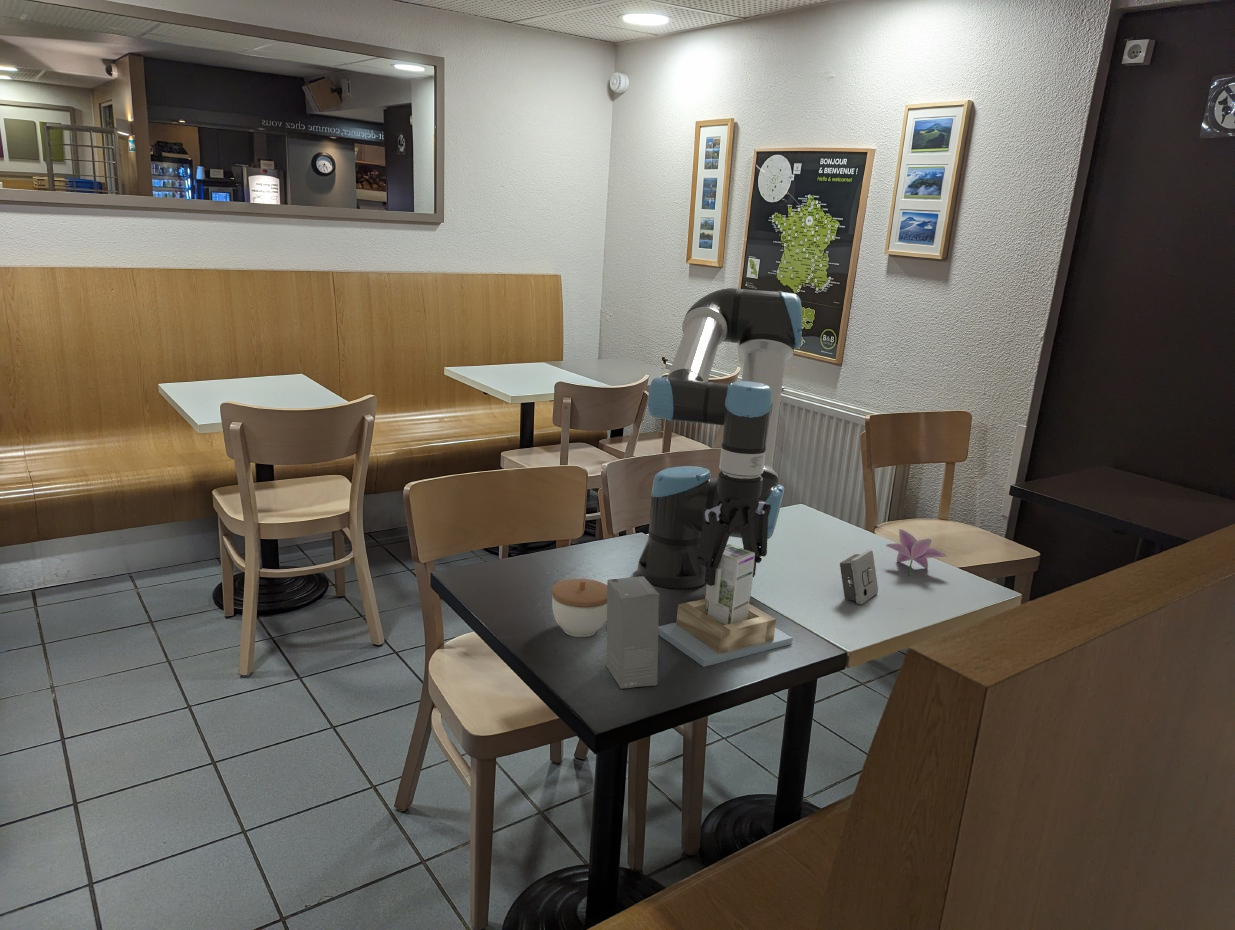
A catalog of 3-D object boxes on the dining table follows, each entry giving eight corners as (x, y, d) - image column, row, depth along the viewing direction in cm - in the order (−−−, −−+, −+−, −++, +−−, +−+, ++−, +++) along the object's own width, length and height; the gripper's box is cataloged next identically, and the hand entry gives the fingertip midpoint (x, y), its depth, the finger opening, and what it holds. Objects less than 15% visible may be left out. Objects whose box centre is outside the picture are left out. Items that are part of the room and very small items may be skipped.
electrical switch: (860, 606, 173) (862, 562, 171) (836, 601, 176) (838, 557, 174) (878, 594, 180) (880, 551, 178) (855, 589, 183) (857, 547, 181)
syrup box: (747, 627, 154) (756, 551, 151) (728, 636, 150) (737, 558, 146) (721, 616, 158) (730, 542, 154) (702, 625, 154) (710, 549, 150)
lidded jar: (553, 615, 160) (555, 567, 157) (610, 619, 159) (614, 572, 157) (547, 641, 149) (549, 590, 147) (608, 645, 149) (611, 595, 147)
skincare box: (658, 686, 136) (665, 594, 132) (614, 691, 134) (621, 597, 130) (641, 661, 144) (648, 573, 140) (600, 665, 142) (606, 576, 138)
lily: (949, 584, 191) (953, 542, 193) (920, 572, 184) (925, 528, 186) (901, 582, 200) (906, 542, 202) (872, 570, 193) (877, 529, 196)
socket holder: (703, 666, 144) (706, 638, 142) (656, 632, 155) (658, 606, 154) (791, 643, 154) (795, 617, 153) (741, 613, 165) (744, 588, 164)
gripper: (709, 484, 138) (696, 615, 144) (798, 473, 149) (783, 596, 155) (681, 472, 145) (671, 598, 150) (769, 462, 155) (755, 581, 161)
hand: (728, 597), depth 153 cm, fingers closed on syrup box, 7 cm apart
